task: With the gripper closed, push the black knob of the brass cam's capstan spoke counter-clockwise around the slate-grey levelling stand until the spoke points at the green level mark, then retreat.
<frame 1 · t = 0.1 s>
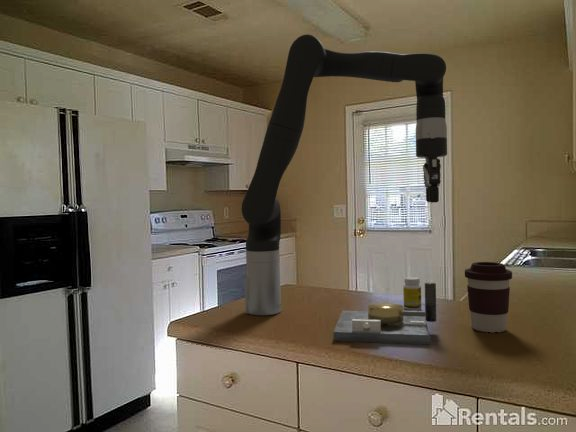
hand: (432, 202, 116), 29 cm above the counter, fingers open, 8 cm apart
cam capstan: (401, 301, 105), point 7 cm above the counter, hinge at 0.0°
coffee cup: (488, 329, 105), on the counter
stand: (381, 330, 106), on the counter
supplement bottle: (412, 309, 126), on the counter
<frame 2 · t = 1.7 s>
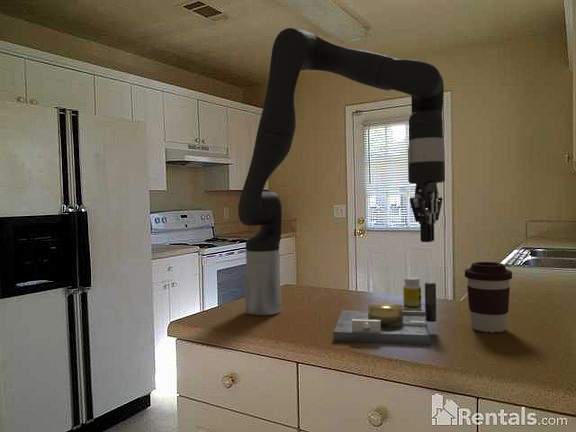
hand: (427, 241, 99), 21 cm above the counter, fingers closed
nothing on the counter moved.
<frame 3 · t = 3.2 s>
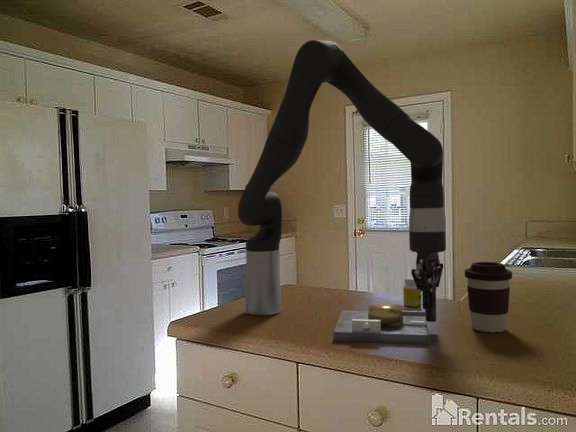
hand: (428, 309, 99), 6 cm above the counter, fingers closed
nothing on the counter moved.
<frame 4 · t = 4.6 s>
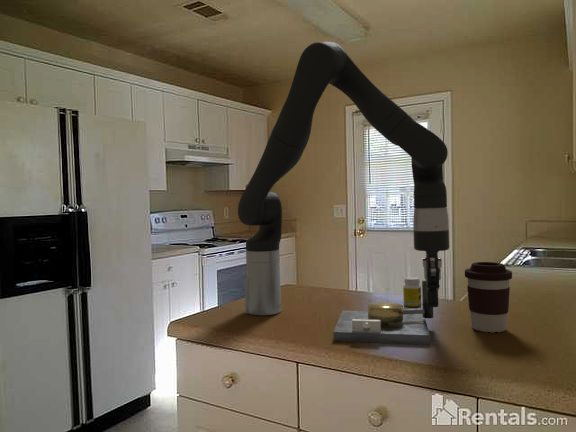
hand: (433, 306, 102), 6 cm above the counter, fingers closed
cam capstan: (400, 300, 106), point 7 cm above the counter, hinge at 15.2°, touching hand
everything else where it was.
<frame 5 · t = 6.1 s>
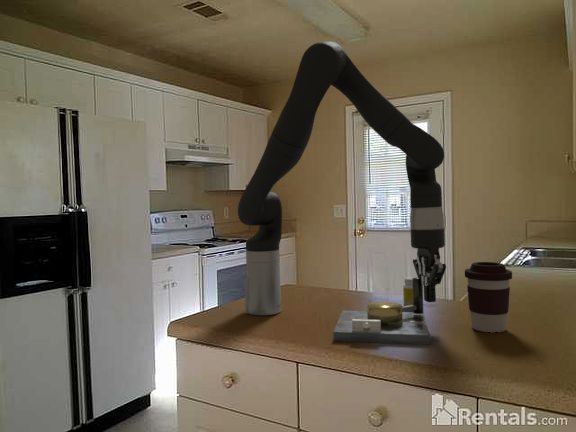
hand: (429, 301, 107), 6 cm above the counter, fingers closed
cam capstan: (396, 298, 108), point 7 cm above the counter, hinge at 38.3°, touching hand
everything else where it was.
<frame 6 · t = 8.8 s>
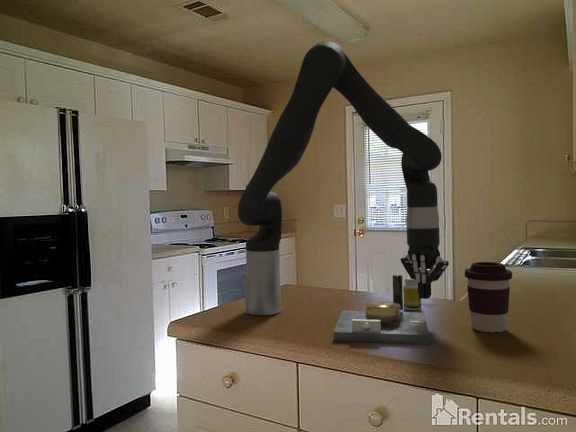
hand: (424, 298, 110), 6 cm above the counter, fingers closed
cam capstan: (388, 297, 110), point 7 cm above the counter, hinge at 68.9°
everything else where it was.
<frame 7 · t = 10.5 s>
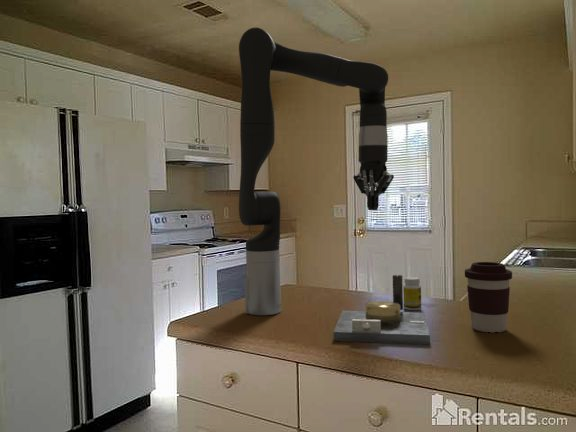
hand: (372, 210, 122), 27 cm above the counter, fingers closed
nothing on the counter moved.
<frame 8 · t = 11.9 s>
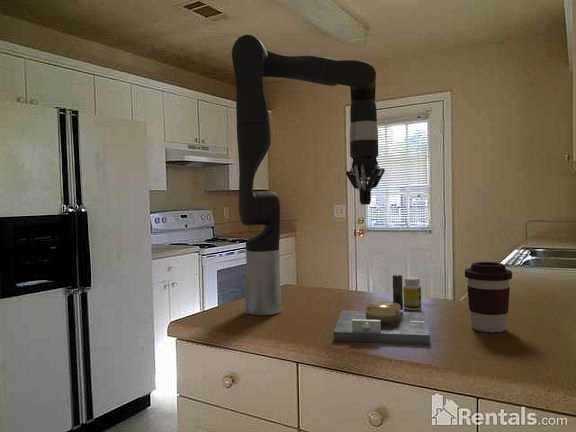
hand: (365, 204, 124), 29 cm above the counter, fingers closed
nothing on the counter moved.
at the end: cam capstan at +69° (first picture: +0°) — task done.
